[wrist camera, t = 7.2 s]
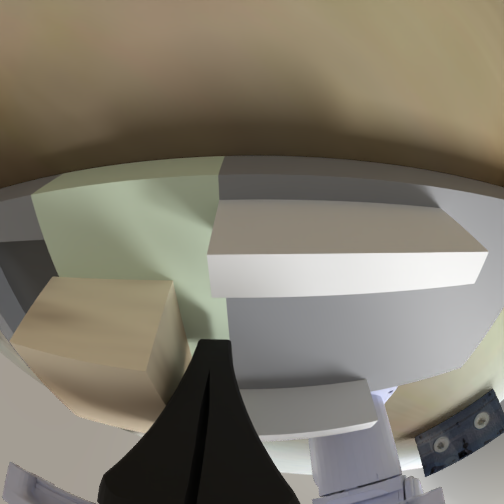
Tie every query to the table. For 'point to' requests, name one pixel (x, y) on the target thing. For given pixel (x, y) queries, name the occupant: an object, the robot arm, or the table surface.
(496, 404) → the vhs cassette tape
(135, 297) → the birch block
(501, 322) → the table surface
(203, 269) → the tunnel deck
